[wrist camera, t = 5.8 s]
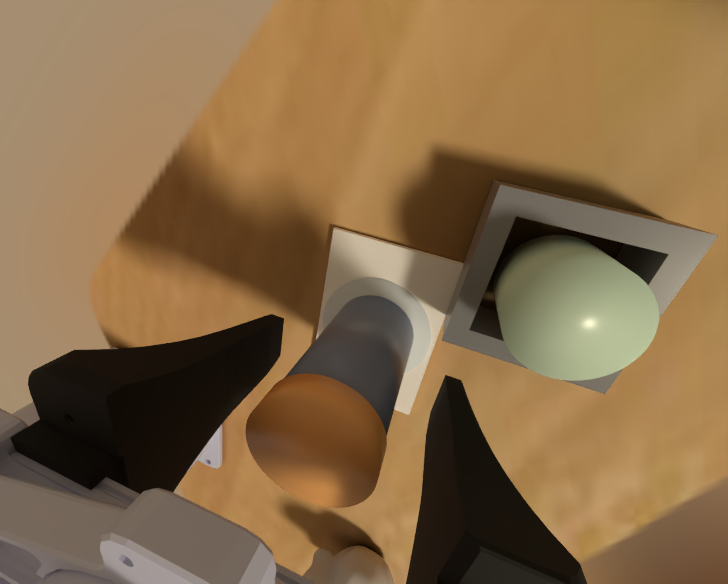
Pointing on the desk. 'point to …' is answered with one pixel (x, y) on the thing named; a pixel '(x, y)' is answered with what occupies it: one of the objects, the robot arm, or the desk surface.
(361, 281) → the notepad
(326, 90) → the desk surface
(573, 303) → the button
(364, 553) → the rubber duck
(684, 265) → the button housing
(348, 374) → the orange-capped grey cylinder
